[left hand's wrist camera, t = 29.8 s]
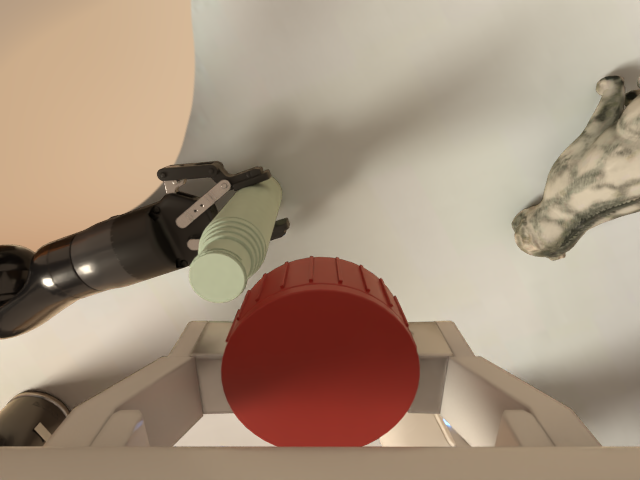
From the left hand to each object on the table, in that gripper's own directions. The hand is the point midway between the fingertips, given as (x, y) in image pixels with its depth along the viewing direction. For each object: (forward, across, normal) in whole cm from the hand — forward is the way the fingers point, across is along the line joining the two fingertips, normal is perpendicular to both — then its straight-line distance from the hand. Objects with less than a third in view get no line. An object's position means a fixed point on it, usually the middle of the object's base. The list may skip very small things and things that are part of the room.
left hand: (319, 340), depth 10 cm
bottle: (+34, +7, +4) cm, 35 cm away
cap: (-2, 0, 0) cm, 2 cm away
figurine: (+34, -30, -1) cm, 45 cm away
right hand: (+28, +4, +3) cm, 28 cm away
